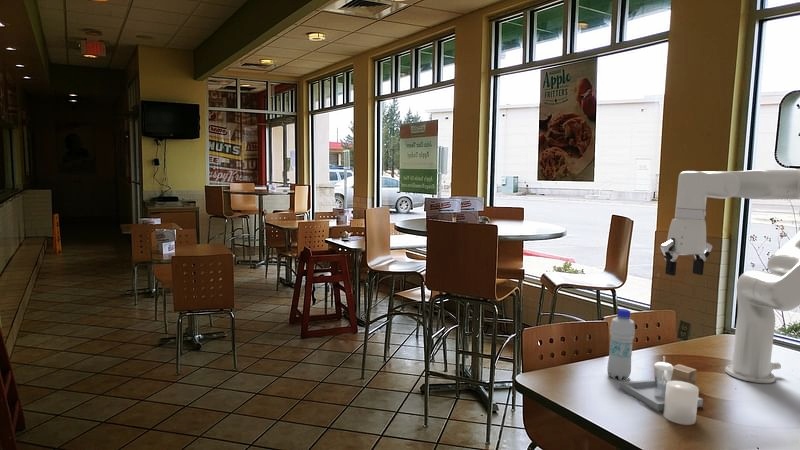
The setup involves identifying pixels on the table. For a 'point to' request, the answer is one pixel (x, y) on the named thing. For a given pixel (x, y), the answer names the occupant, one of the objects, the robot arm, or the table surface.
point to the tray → (646, 393)
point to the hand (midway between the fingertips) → (684, 274)
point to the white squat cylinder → (681, 402)
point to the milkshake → (662, 377)
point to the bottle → (621, 345)
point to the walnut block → (684, 374)
